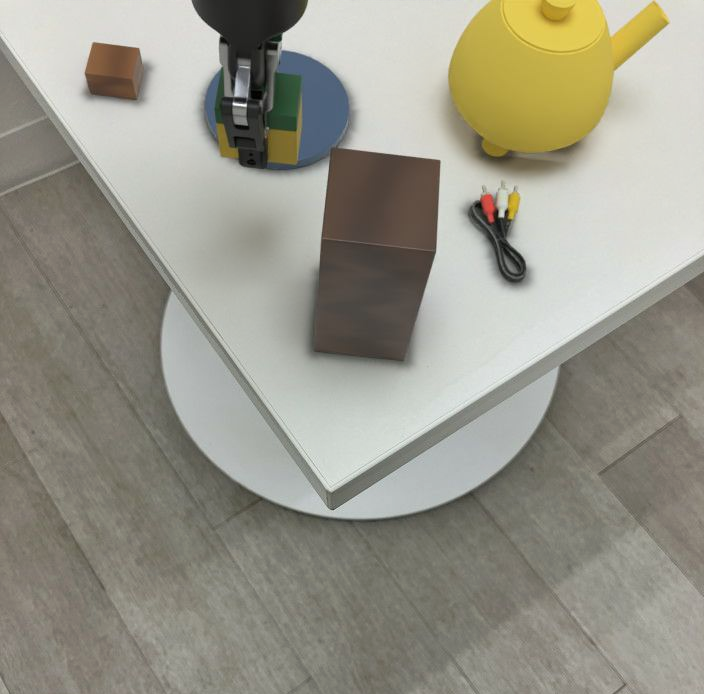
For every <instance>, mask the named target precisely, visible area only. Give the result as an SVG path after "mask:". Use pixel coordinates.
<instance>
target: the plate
mask: <svg viewBox="0 0 704 694" xmlns="http://www.w3.org/2000/svg"><path fill="white" fill-rule="evenodd" d="M220 72H221V68H220V69H219V70H218V71H217V72H216V73H215V75H214V76H213V78H212V79H211V81H210V82H209V85H208V86H207V90H206V93H205V96H204V97H205V99H204V109H205V118H206V122H207V126H208V128H209V131H210V133H211V135H212V137H213V138H214V140H215V141H216V142H217V143H218V144H219V141H218V134H217V126H216V119H215V112H214V105H215V100H216V94H217V88H218V83H219V77H220ZM278 73H285V74H295V75H302V129H301V137H300V145H299V153H298V161H297V165H293V164H284V163H274V162H268V164H267V168H266V169H269V170H290V169H296V168H297V169H298V168H302V167H306V166H309V165H312V164H314V163H316V162H318V161H320V160H322V159H324V158H325V157H326V156H329V155H330V153H331V148H332V147H335V148H337V147H338V145H339V144H340V143H341V141H342V140H343V138H344V136H345V134H346V131H347V129H348V126H349V125H348V124H349V119H350V101H349V96H348V94H347V91H346V88H345V87H344V85H343V83H342V81H341V80H340V78H339V77H338V76H337V75H336V74H335V73H334V72H333V71H332V70H331V69H330V68H329V67H328V66H326V65H325V64H324V63H322V62H320V61H319V60H316V59H315V58H313V57H311V56H308V55H305V54H303V53H299V52H296V51H291V50H286V49H285V50H284V49H282V51H281V60H280V64H279V65H278Z"/></svg>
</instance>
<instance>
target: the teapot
mask: <svg viewBox="0 0 704 694" xmlns="http://www.w3.org/2000/svg"><path fill="white" fill-rule="evenodd" d="M669 24H670V20H669V18H668V16H667V14H666V13H665V11H664V10H663V8H662V7H661V5H659V3H658V2H657V1H655V0H652V1H651V2H649V4H647V5H646V6H645V7H644V8H643V9H641V11H640V12H638V13H637V14H636V15H634V16H633V18H631V19H630V20H629V21H628V22H626V23H625V24H624V25H622V27H621V28H620V29H618V30H617V31H616V32H615V33H614V34H613V35H611V33H610V28H609V25H608V21H607V18H606V16H605V13H604V10H603V7H602V6H601V4H600V2H599V1H598V0H489V1H488V2H486V4H485V5H484V6H483V7H482V8H481V9H480V10H479V11H478V12H477V13H476V14H475V15H474V16H473V17H472V19H471V20H470V21H469V22H468V24H467V25H466V27H465V28H464V30H463V32H462V34H461V35H460V37H459V39H458V41H457V43H456V45H455V47H454V50H453V52H452V55H451V57H450V61H449V66H448V73H447V79H448V80H447V81H448V87H449V88H448V89H449V92H450V95H451V99H452V101H453V104H454V106H455V108H456V109H457V111H458V112H459V114H460V115H461V117H462V118H463V119H464V121H465V122H466V123H467V124H468V126H469V127H470V128H471V129H472V130H473V131H474V132H476V134H478V135H479V136H481V137H482V138H483V139H482V141H481V148H482V149H483V151H484V152H485V153H486V154H488V155H489V156H492V157H503V156H505V155H506V154H507V153H509V151H511V152H516V153H524V154H535V153H537V154H538V153H547V152H551V151H556V150H560V149H564V148H566V147H569V146H571V145H574V144H577V143H578V142H579V141H581V140H582V139H584V138H585V137H587V136H588V135H589V134H590V133H591V132H593V130H594V129H595V128H596V127H597V126H598V124H599V123H600V121H601V120H602V118H603V116H604V114H605V112H606V109H607V107H608V104H609V101H610V98H611V94H612V88H613V82H614V75H615V72H616V71H617V69H619V68H620V67H621V66H623V64H624V63H626V62H627V61H628V60H629V59H630V58H631V57H632V56H634V55H635V54H636V53H637V52H638V51H639V50H641V49H642V48H643V47H644V46H645V45H646V44H647V43H649V42H650V41H651V40H652V39H654V37H656V36H657V35H658V34H659V33H660V32H662V31H663V30H664V29H665V28H666V27H667V26H668V25H669Z"/></svg>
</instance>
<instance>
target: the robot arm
mask: <svg viewBox="0 0 704 694" xmlns="http://www.w3.org/2000/svg"><path fill="white" fill-rule="evenodd" d="M190 1H191V5H192V7H193V8H194V10H195V12H196V14H197V16H198V17H199V18H200V19H201V20H202V21H203V22H204V23H205V24H206V25H207V26H208V27H210V28H211V29H212V30H214V31H215V32H216V33H218V34H219V38H218V58H219V60H218V61H219V64H220V65H221V67H223V69H224V94H225V96H222V100H221V102H220V105H219V109H220V110H221V116H222V120H223V124H224V128H225V132H226V136H227V139H228V143H229V147H230V148H238V157H239V159H238V163H239V165H240V166H241V167H242V168H248V169H256V170H257V169H258V170H265V169H268V168H267V164H268V135H267V134H268V133H269V129H270V126H268V111H271V110H272V109H273V105H274V101H275V80H276V73H278V65H279V64H280V60H281V51H282V50H283V42H282V41H283V37H284V33H286V32H288V31H289V30H290V29H292V28H294V27H295V26H296V25H297V24H298V22H299V21H300V20H301V19H302V18H303V16H304V14H305V12H306V11H307V8H308V4H309V0H190ZM234 82H235V83H234ZM265 86H266V90H264V91H258V89H261V88H263V87H265ZM251 89H256V90H251Z"/></svg>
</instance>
